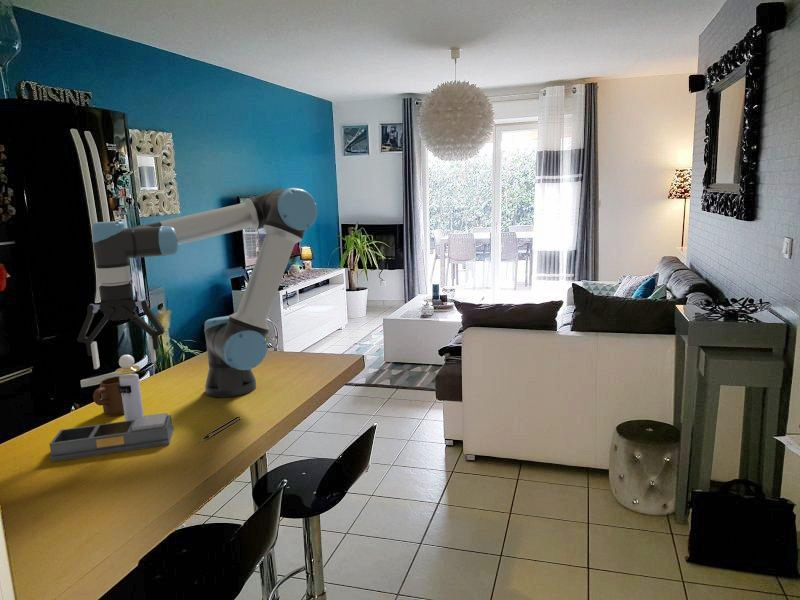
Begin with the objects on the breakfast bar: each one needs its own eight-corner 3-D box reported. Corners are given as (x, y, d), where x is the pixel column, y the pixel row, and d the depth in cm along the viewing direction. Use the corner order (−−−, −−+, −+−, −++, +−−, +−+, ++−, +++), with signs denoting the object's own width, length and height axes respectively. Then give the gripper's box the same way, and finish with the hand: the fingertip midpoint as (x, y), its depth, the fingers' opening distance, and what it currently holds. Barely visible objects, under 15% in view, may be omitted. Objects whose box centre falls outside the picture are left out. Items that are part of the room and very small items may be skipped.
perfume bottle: (135, 422, 157) (125, 351, 153) (152, 424, 155) (142, 352, 151) (118, 431, 152) (108, 357, 148) (136, 433, 150) (126, 358, 146)
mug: (110, 423, 157) (105, 390, 155) (86, 422, 159) (81, 389, 157) (138, 407, 169) (134, 376, 167) (116, 406, 170) (111, 375, 169)
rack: (173, 429, 151) (171, 410, 150) (169, 444, 142) (166, 424, 141) (63, 444, 145) (60, 425, 144) (50, 462, 135) (47, 441, 134)
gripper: (169, 277, 153) (178, 355, 157) (64, 285, 147) (76, 365, 150) (166, 281, 146) (175, 363, 149) (55, 289, 139) (68, 374, 143)
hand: (125, 364), depth 150 cm, fingers open, 13 cm apart
